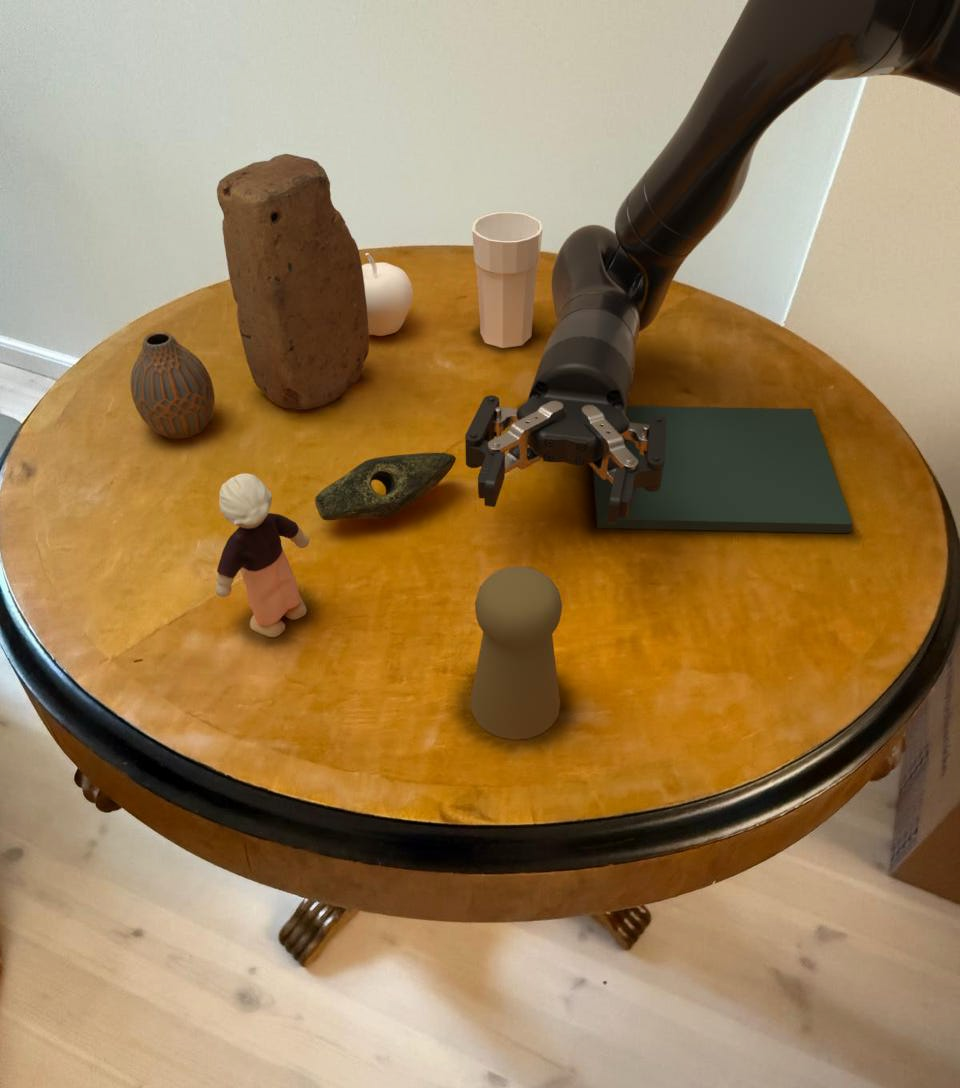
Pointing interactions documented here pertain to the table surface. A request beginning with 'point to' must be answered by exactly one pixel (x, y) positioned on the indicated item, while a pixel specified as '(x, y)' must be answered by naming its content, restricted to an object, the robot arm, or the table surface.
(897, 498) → the table surface
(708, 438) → the mat
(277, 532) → the grandmother figurine
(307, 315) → the block
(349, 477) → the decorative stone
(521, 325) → the cup
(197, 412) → the vase
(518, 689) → the cork
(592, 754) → the table surface
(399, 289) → the plain white apple
